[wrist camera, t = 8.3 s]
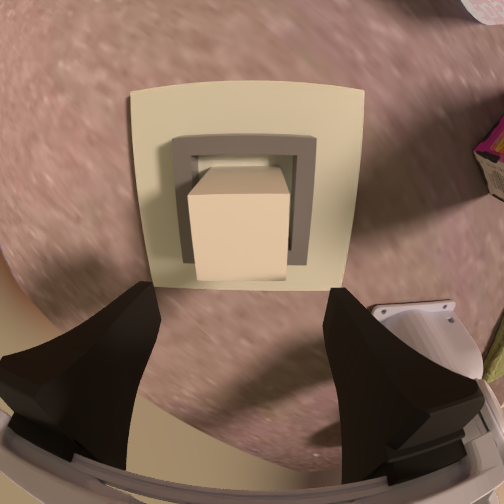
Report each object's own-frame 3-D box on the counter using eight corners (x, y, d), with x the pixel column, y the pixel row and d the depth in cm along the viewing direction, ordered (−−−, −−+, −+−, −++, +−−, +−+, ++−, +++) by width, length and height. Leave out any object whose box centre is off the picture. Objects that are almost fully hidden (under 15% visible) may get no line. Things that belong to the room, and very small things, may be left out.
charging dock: (359, 91, 14) (376, 88, 12) (337, 284, 21) (346, 305, 18) (135, 92, 14) (117, 90, 12) (156, 280, 21) (146, 301, 19)
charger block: (279, 165, 16) (289, 194, 11) (278, 227, 18) (286, 280, 12) (211, 166, 16) (187, 195, 11) (215, 228, 18) (197, 280, 13)
